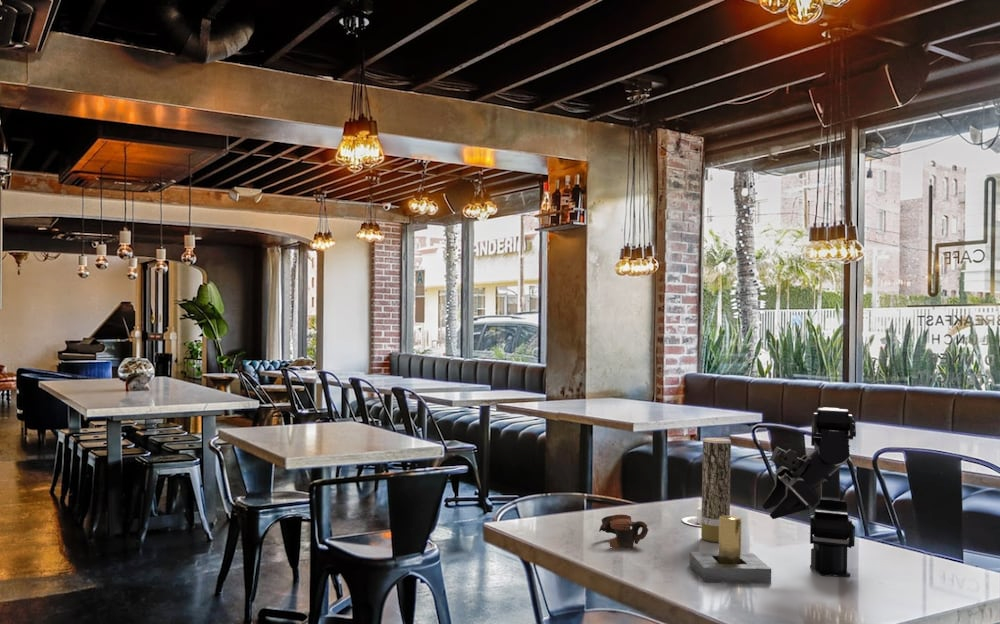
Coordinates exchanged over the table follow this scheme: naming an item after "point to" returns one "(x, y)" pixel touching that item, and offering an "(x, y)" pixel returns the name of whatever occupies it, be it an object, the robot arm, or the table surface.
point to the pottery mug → (623, 530)
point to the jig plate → (730, 568)
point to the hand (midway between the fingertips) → (767, 512)
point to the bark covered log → (715, 485)
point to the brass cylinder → (729, 540)
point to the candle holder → (698, 517)
